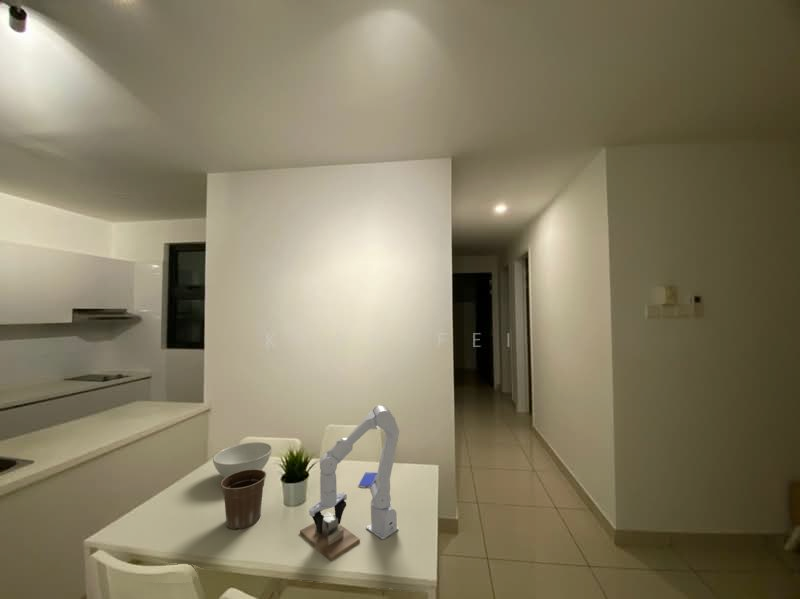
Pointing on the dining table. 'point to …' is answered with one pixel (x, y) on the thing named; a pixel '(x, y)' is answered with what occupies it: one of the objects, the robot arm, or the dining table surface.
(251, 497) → the plant pot
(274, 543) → the dining table surface
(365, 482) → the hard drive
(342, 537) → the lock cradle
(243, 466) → the decorative bowl
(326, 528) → the block
